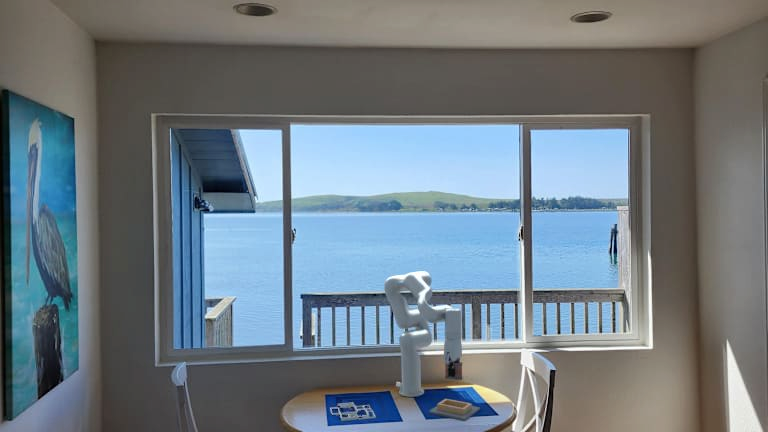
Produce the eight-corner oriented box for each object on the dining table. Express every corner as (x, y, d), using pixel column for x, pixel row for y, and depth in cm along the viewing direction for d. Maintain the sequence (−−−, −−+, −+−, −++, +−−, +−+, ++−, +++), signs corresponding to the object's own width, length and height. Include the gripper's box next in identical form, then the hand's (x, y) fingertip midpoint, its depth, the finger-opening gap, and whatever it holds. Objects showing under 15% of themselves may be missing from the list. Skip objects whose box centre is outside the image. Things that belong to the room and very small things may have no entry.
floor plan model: (316, 409, 277) (316, 405, 277) (368, 405, 282) (368, 400, 281) (319, 424, 258) (319, 419, 258) (375, 419, 263) (375, 414, 263)
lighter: (463, 378, 269) (463, 356, 269) (461, 380, 266) (461, 358, 266) (446, 376, 272) (445, 355, 272) (444, 378, 269) (444, 356, 269)
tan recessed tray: (428, 413, 268) (428, 405, 268) (445, 402, 281) (444, 395, 281) (464, 420, 258) (464, 412, 258) (479, 409, 271) (479, 402, 271)
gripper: (453, 330, 277) (454, 369, 278) (437, 338, 263) (437, 378, 264) (468, 332, 273) (469, 371, 274) (452, 340, 259) (453, 381, 260)
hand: (453, 374), depth 269 cm, fingers closed on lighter, 3 cm apart
